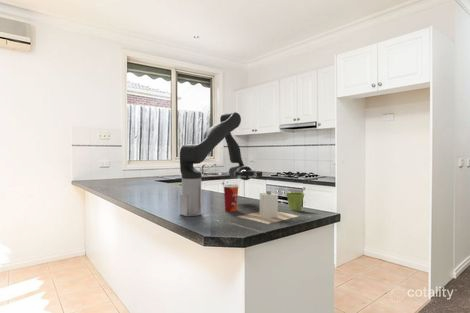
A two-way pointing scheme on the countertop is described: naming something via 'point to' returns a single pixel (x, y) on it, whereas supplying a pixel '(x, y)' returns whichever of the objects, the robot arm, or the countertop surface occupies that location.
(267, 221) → the board
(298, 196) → the plant pot
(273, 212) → the white upright block
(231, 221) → the countertop surface
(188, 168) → the robot arm
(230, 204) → the paper cup
